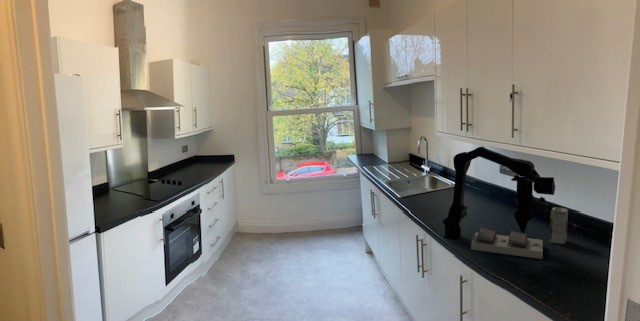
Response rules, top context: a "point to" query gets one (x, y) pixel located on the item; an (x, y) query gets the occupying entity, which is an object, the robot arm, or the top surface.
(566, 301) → the top surface
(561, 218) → the syrup box
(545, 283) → the top surface
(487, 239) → the dark grey rectangular block
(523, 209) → the robot arm
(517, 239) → the right rocker
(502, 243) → the double rocker switch panel
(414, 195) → the top surface
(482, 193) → the top surface
